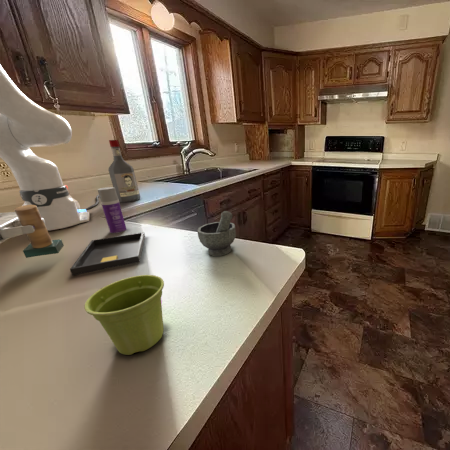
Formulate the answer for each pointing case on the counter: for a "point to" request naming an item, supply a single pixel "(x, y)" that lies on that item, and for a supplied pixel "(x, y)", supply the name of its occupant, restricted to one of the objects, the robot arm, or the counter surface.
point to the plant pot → (130, 312)
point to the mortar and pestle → (218, 235)
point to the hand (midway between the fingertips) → (39, 224)
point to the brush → (37, 233)
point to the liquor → (122, 176)
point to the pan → (110, 253)
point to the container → (112, 209)
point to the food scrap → (109, 258)
